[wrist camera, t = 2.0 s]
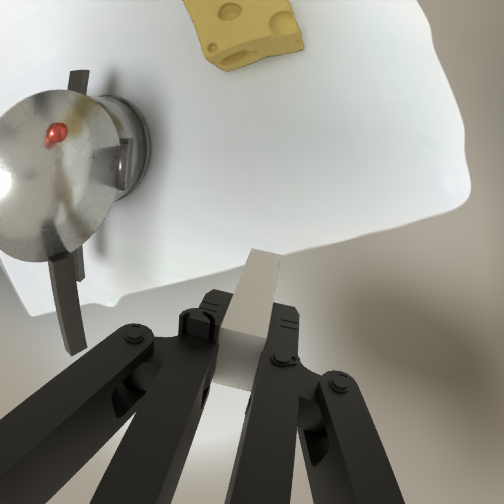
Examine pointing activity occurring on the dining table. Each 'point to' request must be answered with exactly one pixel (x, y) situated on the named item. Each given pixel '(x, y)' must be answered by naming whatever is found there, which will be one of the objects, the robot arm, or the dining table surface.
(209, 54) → the cheese
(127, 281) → the dining table surface
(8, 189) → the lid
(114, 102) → the pot
